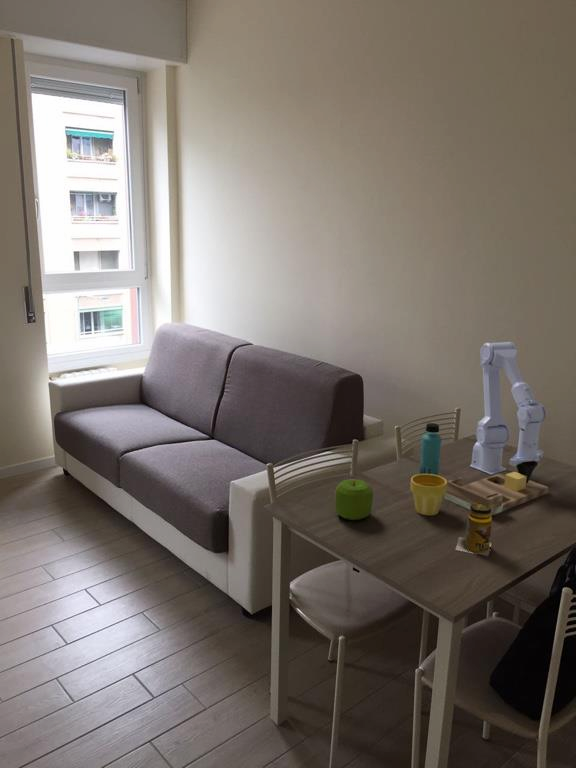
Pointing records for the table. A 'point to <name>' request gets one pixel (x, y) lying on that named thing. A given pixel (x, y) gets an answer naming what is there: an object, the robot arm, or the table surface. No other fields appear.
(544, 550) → the table surface
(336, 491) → the apple
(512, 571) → the table surface
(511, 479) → the mustard block
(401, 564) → the table surface
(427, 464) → the beverage bottle
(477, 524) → the condiment
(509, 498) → the trap board
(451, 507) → the table surface
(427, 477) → the plant pot
